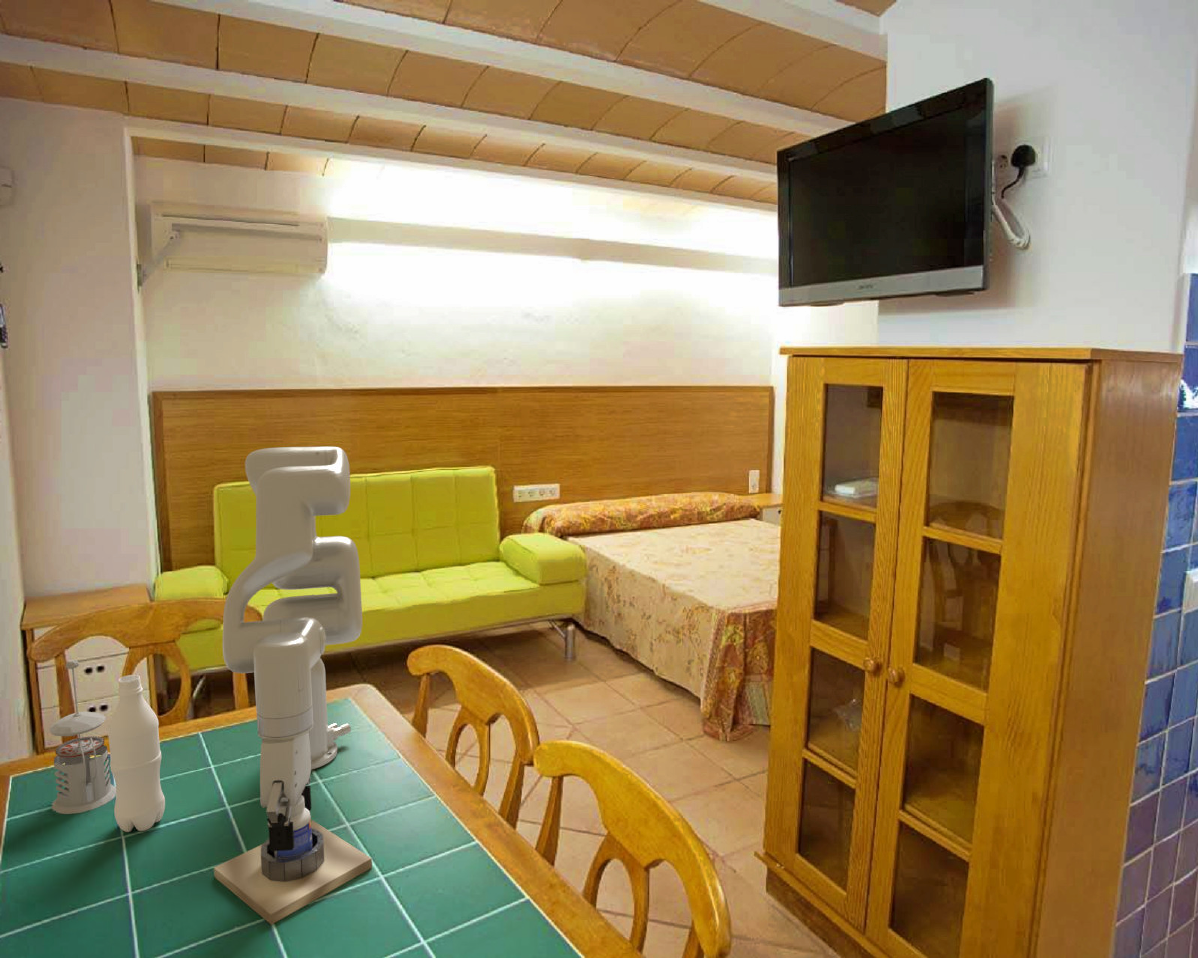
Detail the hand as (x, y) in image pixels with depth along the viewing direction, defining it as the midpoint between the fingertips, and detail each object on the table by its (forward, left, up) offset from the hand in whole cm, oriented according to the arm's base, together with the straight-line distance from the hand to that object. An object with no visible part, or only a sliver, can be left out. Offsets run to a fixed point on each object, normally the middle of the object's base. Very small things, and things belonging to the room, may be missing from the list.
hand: (291, 829), depth 118 cm
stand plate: (0, 0, -7) cm, 7 cm away
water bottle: (+9, -31, -7) cm, 33 cm away
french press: (+12, -46, -7) cm, 48 cm away
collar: (0, 0, -5) cm, 5 cm away
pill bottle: (0, 0, -5) cm, 6 cm away
